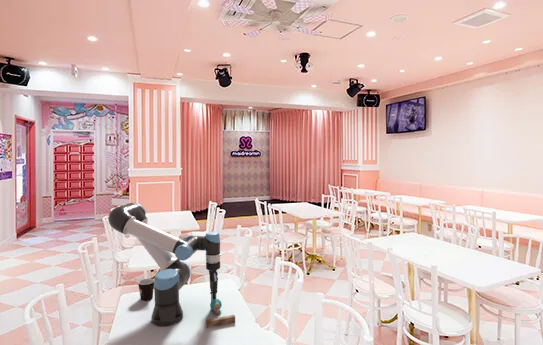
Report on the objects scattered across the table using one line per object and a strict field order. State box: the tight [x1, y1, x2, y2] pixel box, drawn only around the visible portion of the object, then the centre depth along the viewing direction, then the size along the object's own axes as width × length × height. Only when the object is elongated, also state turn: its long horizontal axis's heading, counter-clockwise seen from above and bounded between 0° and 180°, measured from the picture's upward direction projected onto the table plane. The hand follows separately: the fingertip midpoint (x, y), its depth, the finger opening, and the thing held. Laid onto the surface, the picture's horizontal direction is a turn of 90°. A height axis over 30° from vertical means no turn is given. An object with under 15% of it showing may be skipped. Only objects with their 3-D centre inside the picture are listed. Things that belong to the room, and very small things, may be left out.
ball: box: [209, 298, 223, 312], centre depth 169 cm, size 6×6×6 cm
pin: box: [213, 302, 220, 316], centre depth 163 cm, size 2×2×8 cm
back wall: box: [205, 314, 236, 329], centre depth 155 cm, size 14×2×3 cm, turn 111°
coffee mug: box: [137, 278, 154, 302], centre depth 181 cm, size 12×9×10 cm
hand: (213, 303), depth 172 cm, fingers closed
